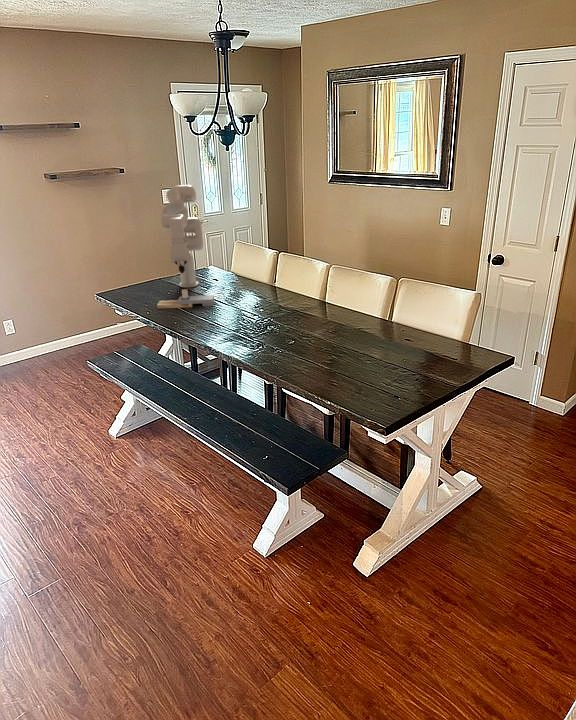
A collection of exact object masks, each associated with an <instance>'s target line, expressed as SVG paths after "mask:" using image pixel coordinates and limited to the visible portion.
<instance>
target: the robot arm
mask: <svg viewBox="0 0 576 720" xmlns="http://www.w3.org/2000/svg"><path fill="white" fill-rule="evenodd" d="M166 198H167V200H168V203H167V204H166V205H165V206H164V207H163V208H162V209H161V213H160V223H161V226H162V227H163V229H165V230H168V229H169V234H170V244H169V245H170V249H169V250H170V259H171V261H170V262H171V263H172V264H175V265H177V267H178V272H179V275H180V276H179V277H180V283H179V284H178V286H179V287H180V288H187V289H188V288H194V287H196V286H197V287H198V285H199V283H200V282H199V281H197V280H196V279H197V277H196V270H195V260H194V256H193V255H192V253H191V252H193V251H195V252H196V251H201V250H203V248H204V237H203V230H202V222H201V220H200V218H199V217H196V216H193V217H191V216H190V217H189V213H188V210H189V209H188V208H187V207H186V206H185V204H188V203H195V202H196V200H197V191H196V190H195V188H194V186H193V185H191V184H183V185H181V184H180V185H174V186H172V187H171V188H170V189H168V190H167V191H166ZM186 234H193V235H186Z"/></svg>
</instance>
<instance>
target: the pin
mask: <svg viewBox="0 0 576 720" xmlns="http://www.w3.org/2000/svg"><path fill="white" fill-rule="evenodd" d="M181 294H182V295H181V297H183V300H188V296H189V292H188V288H187V289H185V288H183V289H181Z"/></svg>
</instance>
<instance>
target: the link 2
mask: <svg viewBox="0 0 576 720" xmlns="http://www.w3.org/2000/svg"><path fill="white" fill-rule="evenodd" d="M177 300H178V301H177V302H178V304H193V305H194V304H202V307H214V304H215V295H214V294H212V295H211V294H210V295H209V294H208V295H204V294H203V295H188V300H183V297H182V296H179V297H178V299H177Z"/></svg>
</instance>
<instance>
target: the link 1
mask: <svg viewBox="0 0 576 720" xmlns="http://www.w3.org/2000/svg"><path fill="white" fill-rule="evenodd" d="M177 301H178V299H170V300H169V299H168V300H159V301H158V302H157V304H156V308H157V309H160V310H161V309H176V308H177V309H178V308H182V309H183V308H193V306H194V304H178V302H177Z"/></svg>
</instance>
